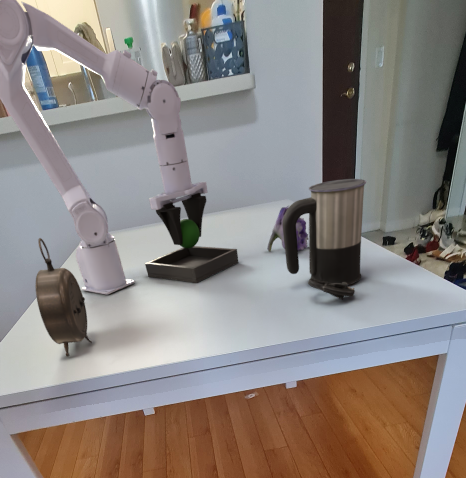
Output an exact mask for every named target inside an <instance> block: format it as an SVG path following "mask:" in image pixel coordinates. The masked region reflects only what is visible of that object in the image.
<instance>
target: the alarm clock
mask: <svg viewBox="0 0 466 478" xmlns="http://www.w3.org/2000/svg"><path fill="white" fill-rule="evenodd" d="M37 241H38V248H39V251H40V254H41V257H42V258H43V260H44V263H45V264H46V268H47V269H39V271H38V272H37V273H36V276H35V284H34V285H35V286H34V287H35V298H36V302H37V307H38V310H39V314H40V317H41V320H42V322H43V325H44V328H45V330H46V332H47V334H48V336H49V337H50V339H51V340H52V341H53V342H54V343H56V344H57V345H61V344H63V348H64V351H65V357H66V358H69V357H70V356H71V355H70V352H69V344H72V343H80V342H82V341H84V339H86V341H87V342H88V343H91V344H92V343H93V341H92V340H91V339H90V337H89V336H88V315H87V314H88V313H87V308H86V302H85V300H86V298H85V297H84V296H83V292H82V290H81V287H80V285H79V282H78V279H76V277H75V275H74V274H73V272H71V271H70V270H69V269H67V268H66V267H59V268H58V267H57V268H54V266H53V264H52V262H53V261H52V259H51V256H50V252H49V249H48V247H47V245H46V242H45V241H44V239H42V238H41V237H39V238H38V239H37ZM42 245H43V247H44V249H45V251H46V255H47V258H46V256H45V254H44V251H43V248H42Z"/></svg>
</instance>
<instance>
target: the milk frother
mask: <svg viewBox="0 0 466 478" xmlns="http://www.w3.org/2000/svg"><path fill="white" fill-rule="evenodd" d="M366 184H367V180H365V179H362V178H345V179H336V180H329V181H324V182H320V183H316V184H313V185H311V186H309V187H308V190H309V191H310V195H311V196H310V197H306V198H302V199H298V200H296V201H294V202H293V203H292V204H290V205H289V208H288V207H287V208H288V209H287V211H286V212H285V214H284V217H283V236H284V245H285V249H284V253H285V262H286V269H287V271H288V272H289V273H290V274H291V275H296V274H298V273H299V270H300V261H299V251H298V246H297V234H296V223H297V220H298V219H299V217H300V218H301V217H302V216H304V215H306V214H308V242H309V243H308V244H309V245H308V247H309V249H308V250H309V251H308V253H309V255H308V256H309V262H308V263H309V268H308V269H309V274H310V279H309V278H308V281H307V284H308V285H309V286H310V287H312V288H314V289H317V290H319V291H323V293H327V294H329V295H331V296H333V297H336V298H338V299H339V300H341V301H343V300H344V298H345V297H353V296H354V295H355V292H356V290H355V287H350V285H353V284H355V283H357V282H359V281H360V280H361V278H362V274H361V253H362V252H361V250H362V249H361V247H362V233H363V231H362V230H363V229H362V228H363V215H364V214H363V211H364V193H365V185H366Z"/></svg>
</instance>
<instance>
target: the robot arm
mask: <svg viewBox="0 0 466 478" xmlns="http://www.w3.org/2000/svg"><path fill="white" fill-rule="evenodd" d="M20 2H21V4H20V3H19V1H18V0H0V102H1V103H2V104H3V106H4V108H5V109H6V111H7V113H8V114H9V116H10V117H11V119H12V120H13V122H14V123H15V125H16V127H17V128H18V130H19V131H20V133H21V134H22V136H23V138H24V139H25V141H26V143H27V144H28V145H29V147H30V149H31V150H32V152H33V153H34V155H35V156H36V159H37V161H39V163H40V165H41V166H42V168H43V170H44V171H45V173H46V174H47V176H48V177H49V179H50V181H51V182H52V184H53V186H54V187H55V188H56V190H57V191H58V193H59V195H60V197H61V198H62V200H63V203H64V204H65V206H66V209H67V211H68V213H69V214H70V216H71V217H72V220H73V223H74V229H75V232H76V235H77V236H78V237H79V238H80V241H79V245H78V246H77V248H76V251H75V258H76V259H75V260H76V263H77V266H78V269H79V272H80V274H81V277H82V280H83V283H84V286H83V287H82V291H85V292H90V293H96V294H101V295H110V294H113V293H114V292H117V291H119V290H122V289H124V288H126V287H128V286H131V285H133V284H135V283H136V281H135V280H134V279H128V278H127V279H126V274H125V270H124V269H123V268H124V267H123V264H122V261H121V256H120V253H119V250H118V246H117V242H116V239H115V236H114V235H113V234H111V233H110V232H109V224H108V223H109V222H108V215H107V213H106V210H104V208H103V207H102V206H101V205H100V204H99V203H97V202H96V201H95V200H94V199H93V198H92V197H91V195H90V192H88V190H87V189H86V187H85V186H84V184H83V183H82V182H81V180H80V178H79V176H78V174H77V173H76V171H75V169H74V167H72V164H71V163H70V161H69V159H68V158H67V156H66V154H65V153H64V150H63V149H62V148H61V146H60V144H59V142H58V141H57V139H56V138H55V136H54V134H53V132H52V131H51V129H50V128H49V125H48V124H47V123H46V121H45V119H44V118H43V115H42V114H41V112H40V110H39V109H38V107H37V105H36V104H35V102H34V101H33V99H32V97H31V95H30V93H29V91H28V90H27V88H26V86H25V78H26V69H27V61H28V58H29V57H30V55H31V51H33V48H34V47H35V49H36V50H37V51H38V52H43V51H53V50H54V51H57V52H58V53H60V54H62V55H63V56H65V57H66V58H69V59H71V60H72V61H74V62H76V63H78V64H79V65H81V66H83V67H84V68H86V69H88V70H89V71H91V72H93V73H95V74H97V75H99V76H100V77H101V79H102V82H103V84H104V87H105V89H106V90H107V91H108V92H109V93H111V94H113V95H114V96H116V97H117V98H120V99H121V100H122V101H124V102H126V103H127V104H129V105H131V106H133V107H134V108H136V109H138V110H139V111H142V110H144V109H145V111H146V113H147V115H148V117H150V119H151V120H150V121H151V126H152V130H153V131H152V132H153V142H154V146H155V147H154V148H155V151H156V158H157V162H158V166H159V173H160V176H161V181H162V186H163V192H161V193H159V194H157V195H154V196H152V197H149V198H148V201H149V205H150V210H152V211H154V210H155V213H156V214H157V216H158V217H159V218H160V220H161V221H162V223H163V224H164V226H165V228H166V229H167V232H168V233H169V236H170V238H171V240H172V242H173V245H175V246H180V245H182V244H183V238H182V232H181V224H180V221H181V214H182V213H181V211H182V207H181V206H176V205H175V204H176V203H179V202H181V203H182V206H183V207H184V210H185V213H186V216H187V219H190V220H192V221H194V222H195V223H196V225H197V226H198V228H199V233H200V236H199V238H201V237H202V227H203V217H204V211H205V207H206V204H207V196H206V195H205V194H207V193H208V186H207V181H198V182H195V183H192V177H191V172H190V165H189V158H188V153H187V147H186V140H185V135H184V130H183V129H182V119H181V117H180V112H181V108H182V107H181V106H182V100H181V97H180V96H179V93H178V90H177V89H176V87H175V86H174V84H172V83H171V82H170V81H168V80H165V79H158V78H157V76H158V71H157V70H154V68H152V69H151V70H149V69H147V68H146V67H144V66H143V65H141V64H140V63H138V62H136V61H135V60H133V59H132V58H131V57H132V53H131V52H129V51H127V50H126V49H123V51H122V52H121V51H119V50H118V49H114V50H112V51H109V52H108V53H106V52H105V51H103V50H101V49H99V48H98V47H97V46H95V45H94V44H92V43H91V42H89V41H88V40H86V39H85V38H83V37H82V36H81V35H79V34H77V33H76V32H75V31H73V30H72V29H70V28H69V27H67V26H66V25H64V24H63V23H61V22H60V21H59V20H57V19H56V18H54V17H53V16H51V15H50V14H48V13H46V12H45V11H43V10H41V9H38V8H37V7H35V6H33V5H31V4H28V3H26V2H24V1H20ZM22 5H23V7H22ZM23 8H24V9H23Z"/></svg>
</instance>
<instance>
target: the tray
mask: <svg viewBox="0 0 466 478" xmlns="http://www.w3.org/2000/svg"><path fill="white" fill-rule="evenodd" d="M238 254H239V253H238V249H237V248H229V247H228V248H227V247H216V246H215V247H214V246H200V245H199V246H197V245H195V246H194V247H192V248H184V247H180V248H178V249H176V250H174V251H171V252H169V253H166V254H164V255H161V256H159V257H157V258H154V259H152V260H149V261H147V262H144V266H145V269H146V274H147V277H148V278H155V279H156V278H157V279H162V280H163V279H164V280H171V281H178V282H186V283H193V284H198V283H201V282H202V281H204V280H206V279H208V278H210V277H212V276H214V275H216V274H219V273H221V272H223V271H225V270H226V269H227V270H228V269H229V268H231V267H233V266H235V265H237V264H239V255H238Z"/></svg>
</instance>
